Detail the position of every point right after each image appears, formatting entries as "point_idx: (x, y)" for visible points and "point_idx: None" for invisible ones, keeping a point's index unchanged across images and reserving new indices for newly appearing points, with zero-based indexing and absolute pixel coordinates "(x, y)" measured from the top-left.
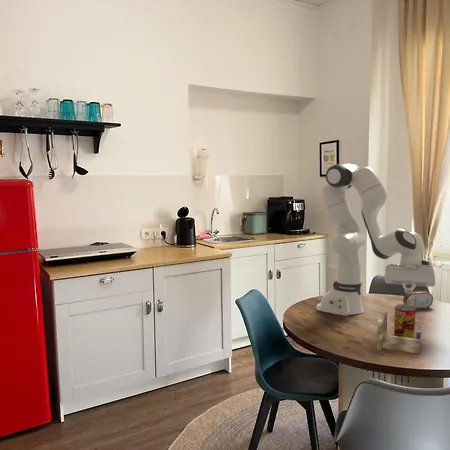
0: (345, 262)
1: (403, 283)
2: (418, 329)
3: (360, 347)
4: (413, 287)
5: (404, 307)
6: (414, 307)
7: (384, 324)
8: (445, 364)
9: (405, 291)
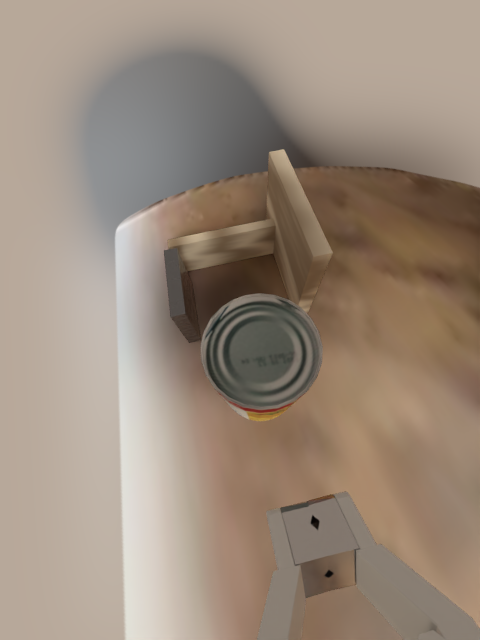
0: None
1: (458, 629)
2: (175, 272)
3: None
4: (269, 613)
5: (263, 341)
6: (213, 379)
7: (284, 220)
8: (115, 246)
9: (334, 494)
